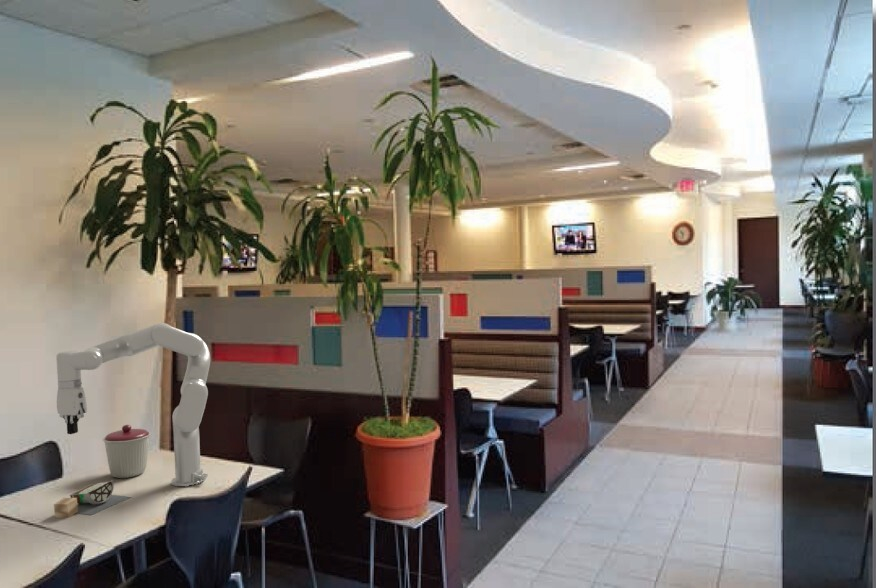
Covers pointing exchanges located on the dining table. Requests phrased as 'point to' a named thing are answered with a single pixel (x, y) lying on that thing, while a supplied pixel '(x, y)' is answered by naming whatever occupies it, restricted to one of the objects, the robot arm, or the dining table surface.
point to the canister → (127, 451)
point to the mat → (100, 505)
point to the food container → (94, 493)
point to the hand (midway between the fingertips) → (72, 433)
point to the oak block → (66, 507)
